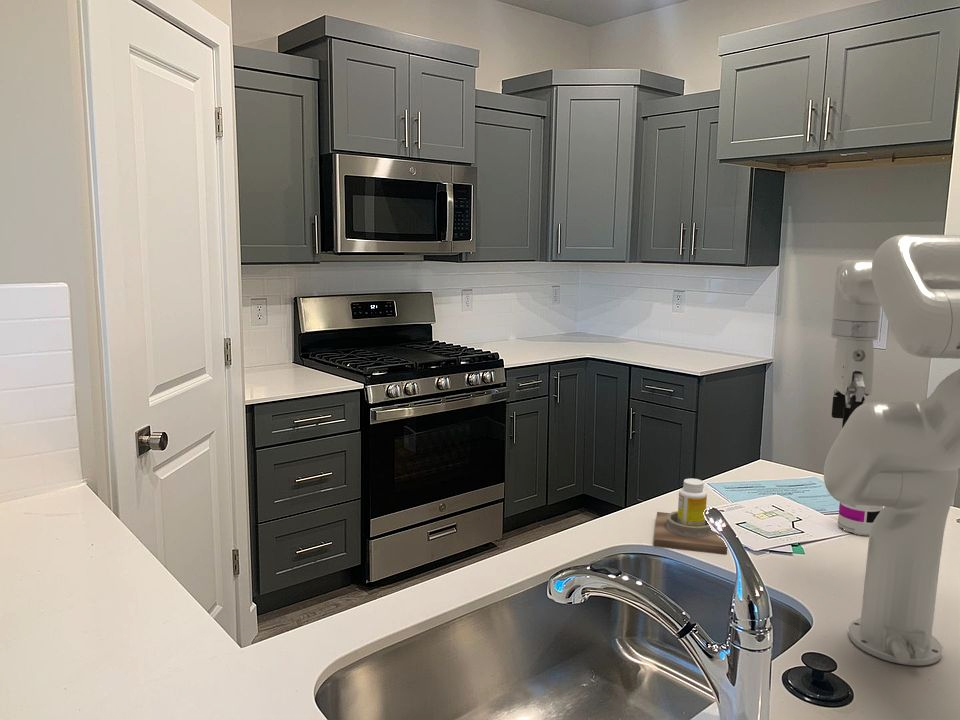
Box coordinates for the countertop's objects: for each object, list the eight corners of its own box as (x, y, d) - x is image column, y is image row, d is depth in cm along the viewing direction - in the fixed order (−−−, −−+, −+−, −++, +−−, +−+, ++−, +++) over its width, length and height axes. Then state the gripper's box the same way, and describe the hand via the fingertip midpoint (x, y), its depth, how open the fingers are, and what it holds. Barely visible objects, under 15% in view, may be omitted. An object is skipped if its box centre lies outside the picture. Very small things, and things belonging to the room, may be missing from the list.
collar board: (726, 554, 149) (728, 537, 148) (653, 546, 152) (654, 529, 152) (723, 525, 164) (724, 509, 164) (656, 518, 168) (657, 503, 167)
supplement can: (842, 534, 160) (848, 465, 157) (834, 520, 168) (840, 455, 165) (884, 538, 158) (891, 469, 156) (874, 524, 166) (881, 458, 163)
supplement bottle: (710, 529, 158) (713, 482, 156) (694, 535, 154) (697, 487, 152) (687, 521, 162) (690, 475, 160) (671, 527, 158) (674, 480, 157)
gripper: (890, 336, 126) (881, 437, 129) (866, 325, 142) (858, 415, 145) (841, 334, 128) (833, 433, 130) (823, 324, 144) (815, 412, 147)
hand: (846, 423), depth 138 cm, fingers open, 9 cm apart
